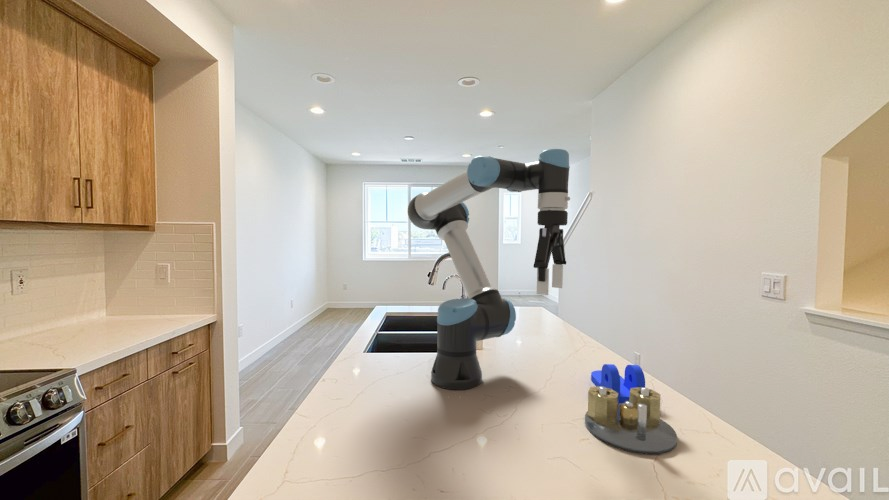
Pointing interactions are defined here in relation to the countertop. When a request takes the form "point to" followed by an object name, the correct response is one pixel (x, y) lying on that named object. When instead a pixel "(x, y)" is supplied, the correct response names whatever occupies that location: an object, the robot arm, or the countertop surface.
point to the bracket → (619, 380)
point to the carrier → (637, 425)
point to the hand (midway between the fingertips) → (550, 290)
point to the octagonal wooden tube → (603, 406)
